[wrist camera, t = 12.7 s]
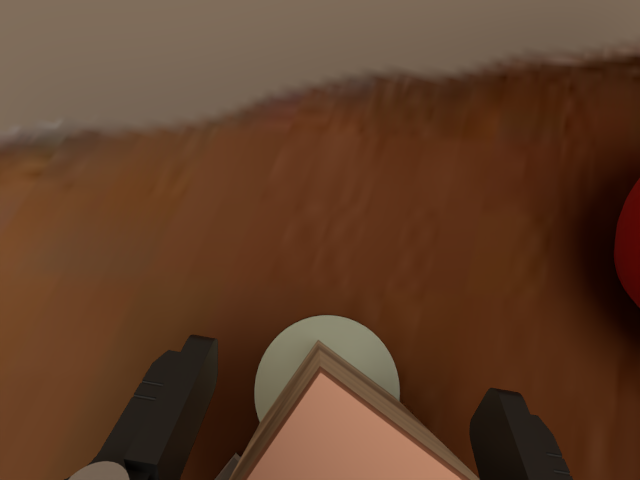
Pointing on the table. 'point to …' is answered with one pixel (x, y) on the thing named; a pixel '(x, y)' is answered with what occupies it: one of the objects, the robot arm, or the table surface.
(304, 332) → the pad
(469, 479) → the plug
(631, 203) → the ceramic cup
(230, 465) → the socket block
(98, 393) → the table surface
